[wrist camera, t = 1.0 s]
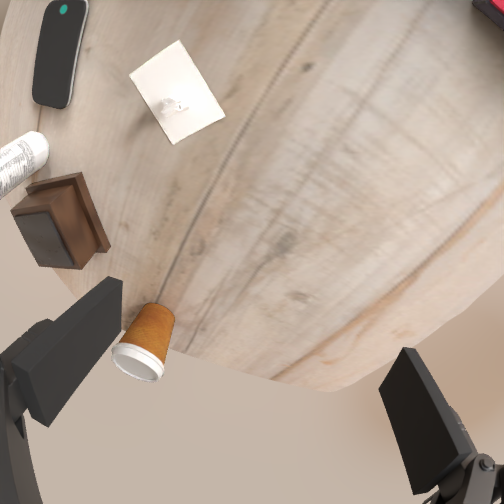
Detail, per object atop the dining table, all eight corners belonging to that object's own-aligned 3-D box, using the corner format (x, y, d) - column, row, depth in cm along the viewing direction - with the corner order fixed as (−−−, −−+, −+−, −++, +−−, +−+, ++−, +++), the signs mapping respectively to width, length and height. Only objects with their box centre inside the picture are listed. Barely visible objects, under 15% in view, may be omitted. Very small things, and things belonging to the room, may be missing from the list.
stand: (31, 183, 38) (2, 207, 32) (81, 171, 35) (49, 198, 30) (59, 246, 46) (36, 272, 40) (111, 246, 43) (87, 278, 37)
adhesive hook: (173, 118, 29) (161, 126, 27) (161, 99, 28) (148, 105, 26) (195, 105, 28) (185, 111, 26) (183, 85, 27) (171, 89, 24)
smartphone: (88, -2, 19) (66, 111, 28) (93, -2, 20) (70, 109, 29) (46, 0, 18) (30, 103, 28) (51, 0, 19) (34, 101, 28)
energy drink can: (24, 130, 32) (-49, 179, 20) (47, 126, 31) (-32, 177, 20) (31, 165, 35) (-35, 219, 24) (55, 164, 35) (-16, 222, 23)
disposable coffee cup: (164, 293, 48) (136, 352, 38) (192, 328, 53) (172, 385, 43) (126, 299, 51) (98, 351, 42) (154, 331, 56) (133, 382, 47)
